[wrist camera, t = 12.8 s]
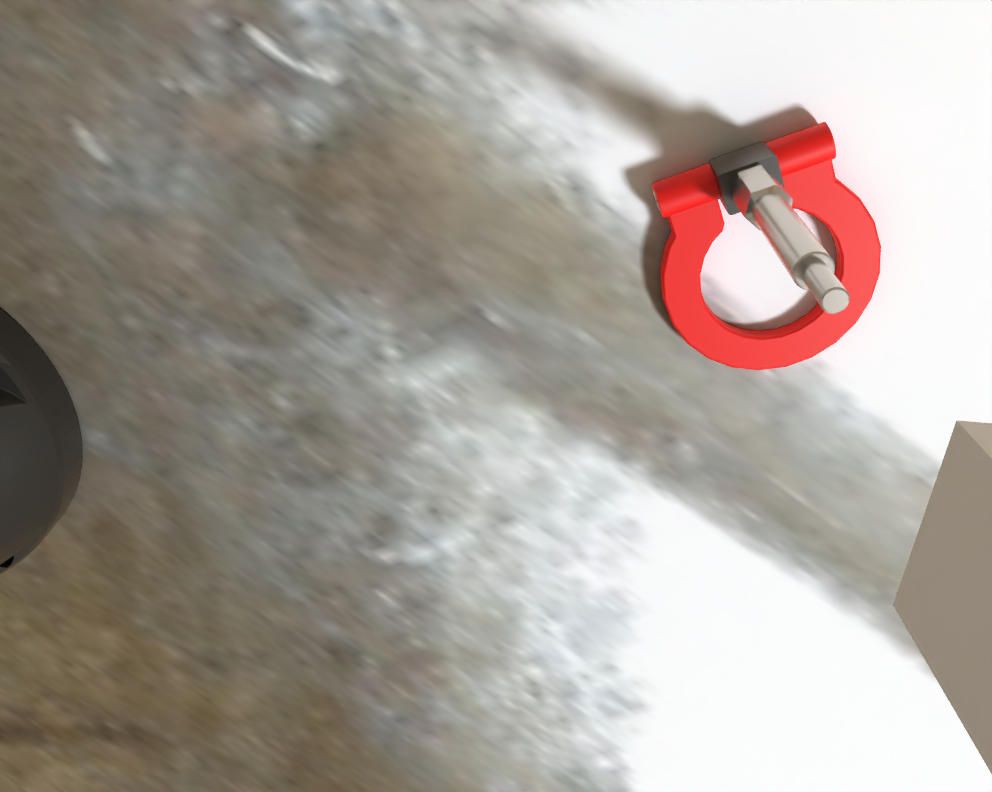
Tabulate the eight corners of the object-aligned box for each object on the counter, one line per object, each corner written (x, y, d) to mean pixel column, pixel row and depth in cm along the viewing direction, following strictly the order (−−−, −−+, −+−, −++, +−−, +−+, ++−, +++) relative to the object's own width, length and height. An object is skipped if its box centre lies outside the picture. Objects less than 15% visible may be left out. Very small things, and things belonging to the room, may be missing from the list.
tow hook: (888, 320, 39) (845, 105, 35) (1036, 504, 28) (997, 219, 24) (690, 382, 41) (625, 184, 37) (754, 579, 30) (671, 325, 25)
